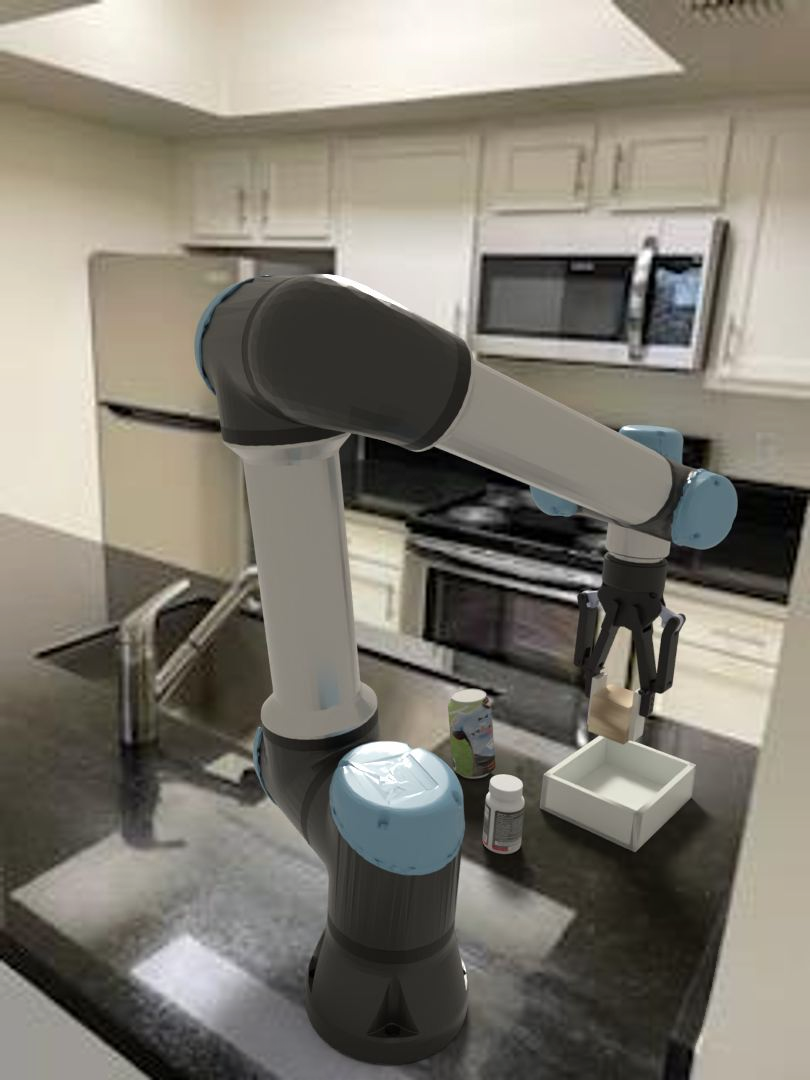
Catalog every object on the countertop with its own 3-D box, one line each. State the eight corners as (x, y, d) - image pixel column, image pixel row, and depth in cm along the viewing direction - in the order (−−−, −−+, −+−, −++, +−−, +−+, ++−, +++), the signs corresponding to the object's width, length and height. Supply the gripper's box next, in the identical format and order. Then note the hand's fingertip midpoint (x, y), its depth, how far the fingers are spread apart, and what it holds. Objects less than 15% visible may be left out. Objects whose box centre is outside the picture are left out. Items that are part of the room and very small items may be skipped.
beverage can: (492, 787, 116) (499, 707, 113) (439, 779, 117) (445, 699, 114) (496, 765, 122) (503, 688, 119) (446, 757, 123) (452, 681, 120)
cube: (641, 731, 108) (646, 696, 107) (623, 744, 104) (628, 708, 103) (606, 718, 111) (610, 683, 110) (587, 730, 107) (592, 695, 106)
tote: (635, 852, 103) (640, 816, 102) (539, 808, 111) (543, 774, 110) (691, 797, 116) (696, 764, 115) (602, 761, 124) (606, 730, 123)
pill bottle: (528, 844, 103) (534, 783, 101) (505, 860, 100) (511, 797, 98) (497, 827, 106) (503, 768, 104) (474, 842, 103) (479, 781, 101)
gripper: (721, 565, 99) (694, 744, 105) (585, 535, 110) (567, 698, 116) (696, 577, 93) (669, 765, 99) (555, 544, 105) (538, 715, 110)
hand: (614, 729), depth 108 cm, fingers closed on cube, 5 cm apart
